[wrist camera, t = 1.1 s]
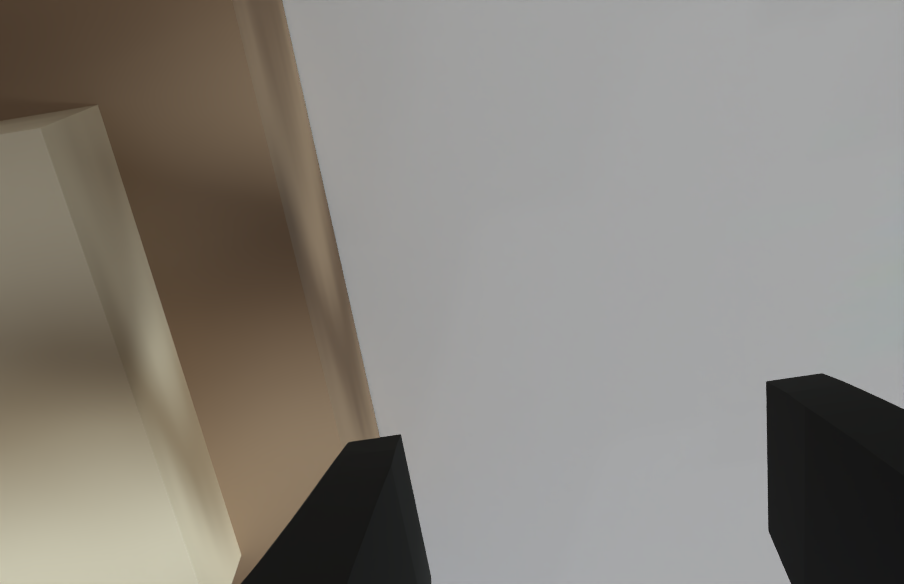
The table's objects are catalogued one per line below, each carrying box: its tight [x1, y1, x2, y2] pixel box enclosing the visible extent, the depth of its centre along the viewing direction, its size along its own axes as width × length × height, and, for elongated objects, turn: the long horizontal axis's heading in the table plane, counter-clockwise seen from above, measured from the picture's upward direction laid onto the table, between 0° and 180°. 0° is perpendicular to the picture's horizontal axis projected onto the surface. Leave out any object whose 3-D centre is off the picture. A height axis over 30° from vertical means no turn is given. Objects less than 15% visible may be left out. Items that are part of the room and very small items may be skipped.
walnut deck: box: [0, 0, 380, 584], centre depth 17 cm, size 14×10×4 cm
